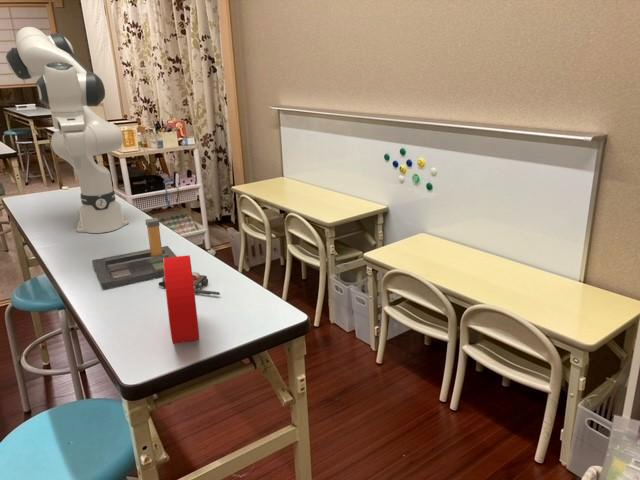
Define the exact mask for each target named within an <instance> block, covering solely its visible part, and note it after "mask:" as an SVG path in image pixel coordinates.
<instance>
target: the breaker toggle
mask: <svg viewBox="0 0 640 480" xmlns="http://www.w3.org/2000/svg"><path fill="white" fill-rule="evenodd" d="M144 221H145V226H146V229H147V235H148V236H147V237H148V242H149V243H148V244H149V249H150V252H151V257H152V256H157V255H162V247H163V246H162V240H161V232H160V231H161V230H160V225H161V224H160V220H159V219H158V218H157V217H154V218H148V219H147V218H145V220H144Z"/></svg>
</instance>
